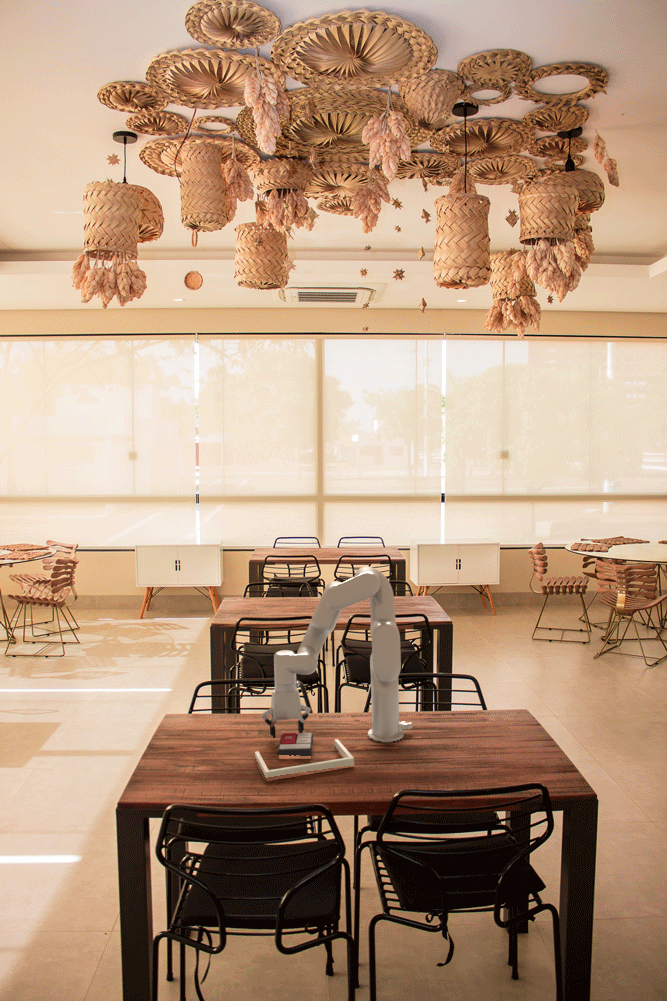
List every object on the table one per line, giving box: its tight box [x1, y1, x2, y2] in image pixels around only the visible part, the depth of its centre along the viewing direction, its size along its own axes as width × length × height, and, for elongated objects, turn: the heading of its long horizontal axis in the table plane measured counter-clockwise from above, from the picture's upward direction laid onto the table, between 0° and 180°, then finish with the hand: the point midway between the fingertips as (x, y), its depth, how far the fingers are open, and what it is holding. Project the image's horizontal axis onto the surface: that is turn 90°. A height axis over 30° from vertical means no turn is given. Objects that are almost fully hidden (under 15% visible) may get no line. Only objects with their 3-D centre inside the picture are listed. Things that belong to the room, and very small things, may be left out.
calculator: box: [277, 732, 314, 756], centre depth 239 cm, size 11×4×15 cm
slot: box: [254, 738, 355, 778], centre depth 228 cm, size 28×16×3 cm, turn 108°
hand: (287, 734), depth 248 cm, fingers open, 9 cm apart
